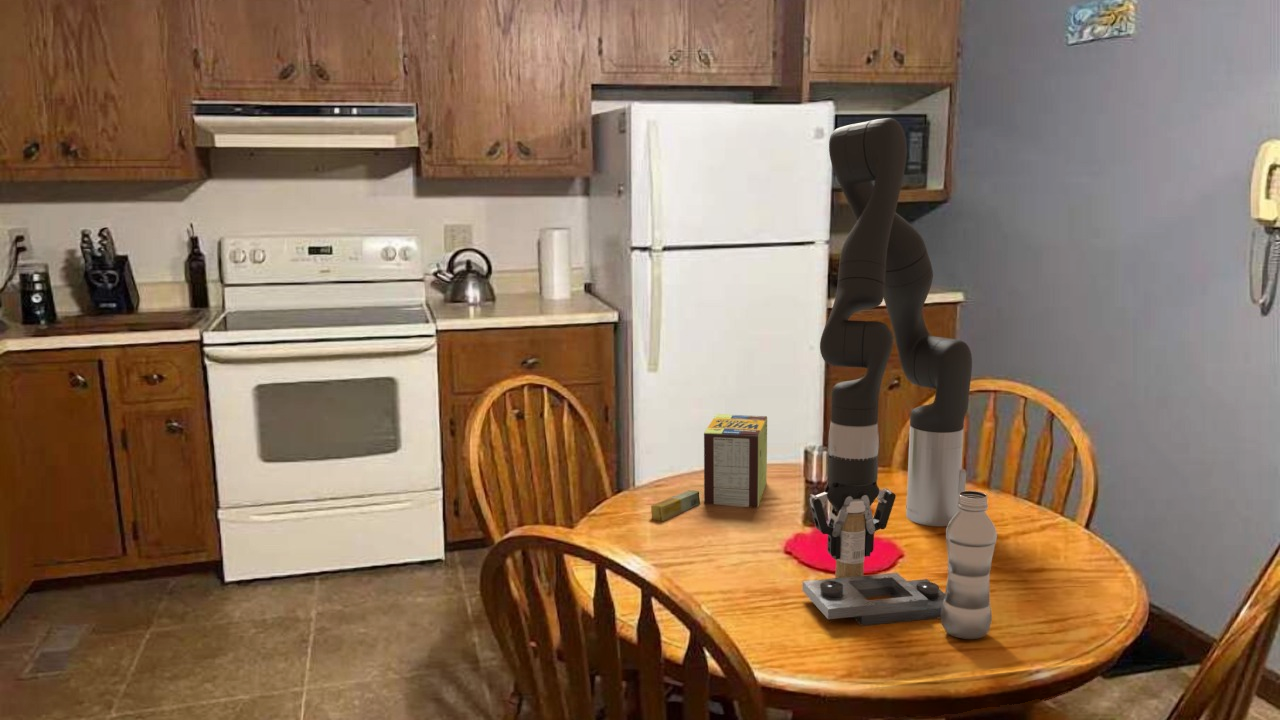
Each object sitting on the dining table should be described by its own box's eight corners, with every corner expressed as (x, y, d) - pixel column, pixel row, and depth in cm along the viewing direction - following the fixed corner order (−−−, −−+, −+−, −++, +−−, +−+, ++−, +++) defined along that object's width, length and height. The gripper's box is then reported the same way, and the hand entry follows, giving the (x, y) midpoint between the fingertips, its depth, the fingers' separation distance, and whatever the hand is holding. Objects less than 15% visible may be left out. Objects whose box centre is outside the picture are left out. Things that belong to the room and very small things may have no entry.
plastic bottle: (932, 625, 140) (938, 488, 136) (979, 623, 140) (986, 486, 137) (950, 646, 134) (957, 503, 130) (999, 644, 134) (1007, 501, 130)
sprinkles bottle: (856, 572, 159) (859, 491, 156) (869, 583, 154) (871, 499, 152) (829, 574, 158) (831, 493, 155) (841, 586, 154) (844, 502, 151)
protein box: (766, 490, 201) (768, 415, 198) (758, 515, 186) (759, 434, 183) (715, 487, 203) (715, 413, 200) (702, 511, 188) (702, 432, 186)
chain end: (926, 588, 152) (927, 571, 152) (959, 615, 143) (960, 598, 142) (833, 597, 149) (834, 580, 149) (861, 625, 140) (862, 607, 139)
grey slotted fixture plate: (896, 581, 151) (897, 565, 151) (927, 609, 141) (928, 591, 141) (802, 590, 148) (802, 573, 148) (828, 619, 139) (828, 601, 138)
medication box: (690, 510, 190) (688, 489, 190) (701, 511, 188) (700, 491, 188) (651, 526, 181) (650, 504, 180) (663, 527, 179) (662, 506, 179)
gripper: (886, 441, 157) (882, 544, 161) (800, 446, 155) (798, 551, 158) (907, 453, 150) (903, 561, 153) (818, 459, 147) (815, 569, 151)
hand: (850, 555), depth 156 cm, fingers closed on sprinkles bottle, 4 cm apart
